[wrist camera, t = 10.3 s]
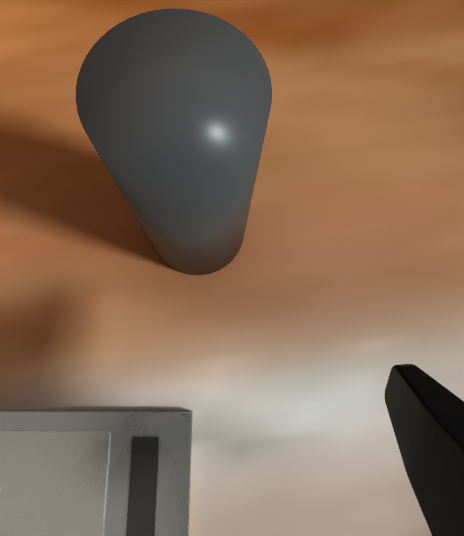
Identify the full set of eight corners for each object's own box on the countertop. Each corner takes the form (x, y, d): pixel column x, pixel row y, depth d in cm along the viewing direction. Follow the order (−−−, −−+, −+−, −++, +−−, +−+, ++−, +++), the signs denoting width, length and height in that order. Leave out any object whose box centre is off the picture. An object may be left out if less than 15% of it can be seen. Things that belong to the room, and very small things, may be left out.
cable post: (214, 292, 20) (210, 215, 9) (133, 246, 20) (35, 119, 9) (260, 214, 21) (305, 61, 10) (182, 171, 21) (144, -20, 10)
